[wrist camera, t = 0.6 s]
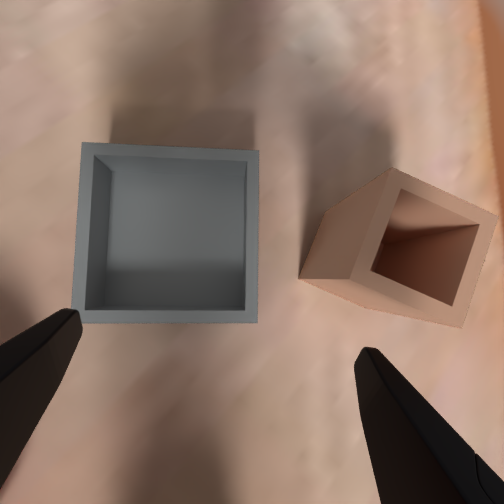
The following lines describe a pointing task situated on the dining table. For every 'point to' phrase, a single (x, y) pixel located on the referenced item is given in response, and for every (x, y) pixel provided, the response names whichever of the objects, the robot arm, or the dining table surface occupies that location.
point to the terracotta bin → (402, 249)
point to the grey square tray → (166, 235)
